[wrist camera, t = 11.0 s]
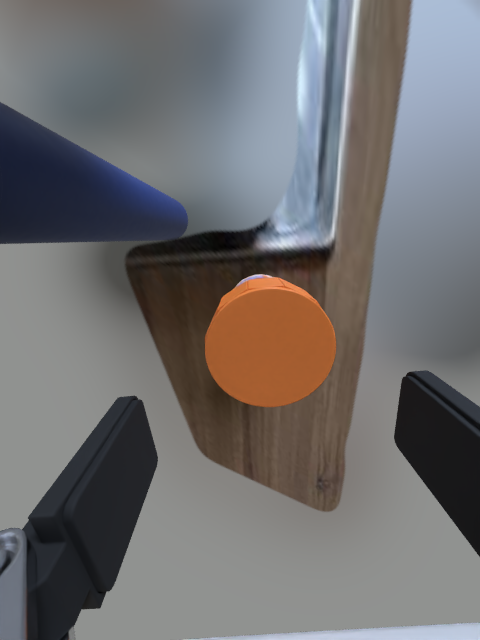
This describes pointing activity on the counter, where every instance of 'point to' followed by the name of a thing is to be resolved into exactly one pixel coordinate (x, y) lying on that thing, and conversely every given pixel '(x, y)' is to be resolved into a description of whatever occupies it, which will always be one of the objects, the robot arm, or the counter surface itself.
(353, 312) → the counter surface
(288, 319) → the cap
